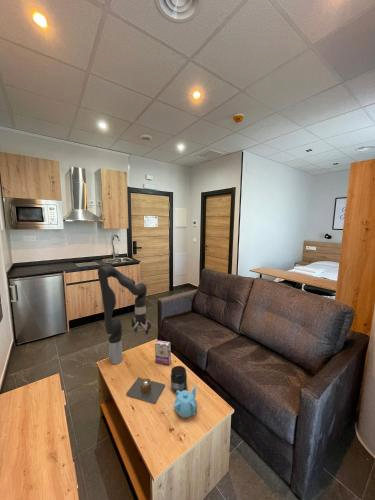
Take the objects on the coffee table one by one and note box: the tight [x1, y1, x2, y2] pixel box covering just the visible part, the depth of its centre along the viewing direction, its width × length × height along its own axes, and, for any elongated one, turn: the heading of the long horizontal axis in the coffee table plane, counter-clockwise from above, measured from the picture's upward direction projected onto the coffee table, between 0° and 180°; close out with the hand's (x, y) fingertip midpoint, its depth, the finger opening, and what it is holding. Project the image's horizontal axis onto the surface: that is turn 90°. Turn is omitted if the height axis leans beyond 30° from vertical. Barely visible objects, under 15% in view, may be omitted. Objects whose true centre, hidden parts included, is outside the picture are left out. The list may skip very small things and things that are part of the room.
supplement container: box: [170, 365, 188, 393], centre depth 135 cm, size 10×10×12 cm
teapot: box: [173, 384, 198, 420], centre depth 119 cm, size 13×14×11 cm
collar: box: [141, 378, 152, 393], centre depth 133 cm, size 6×6×4 cm
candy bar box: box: [154, 339, 172, 366], centre depth 159 cm, size 11×5×16 cm, turn 73°
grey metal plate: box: [125, 377, 166, 405], centre depth 133 cm, size 20×14×6 cm
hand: (141, 333), depth 150 cm, fingers open, 8 cm apart
